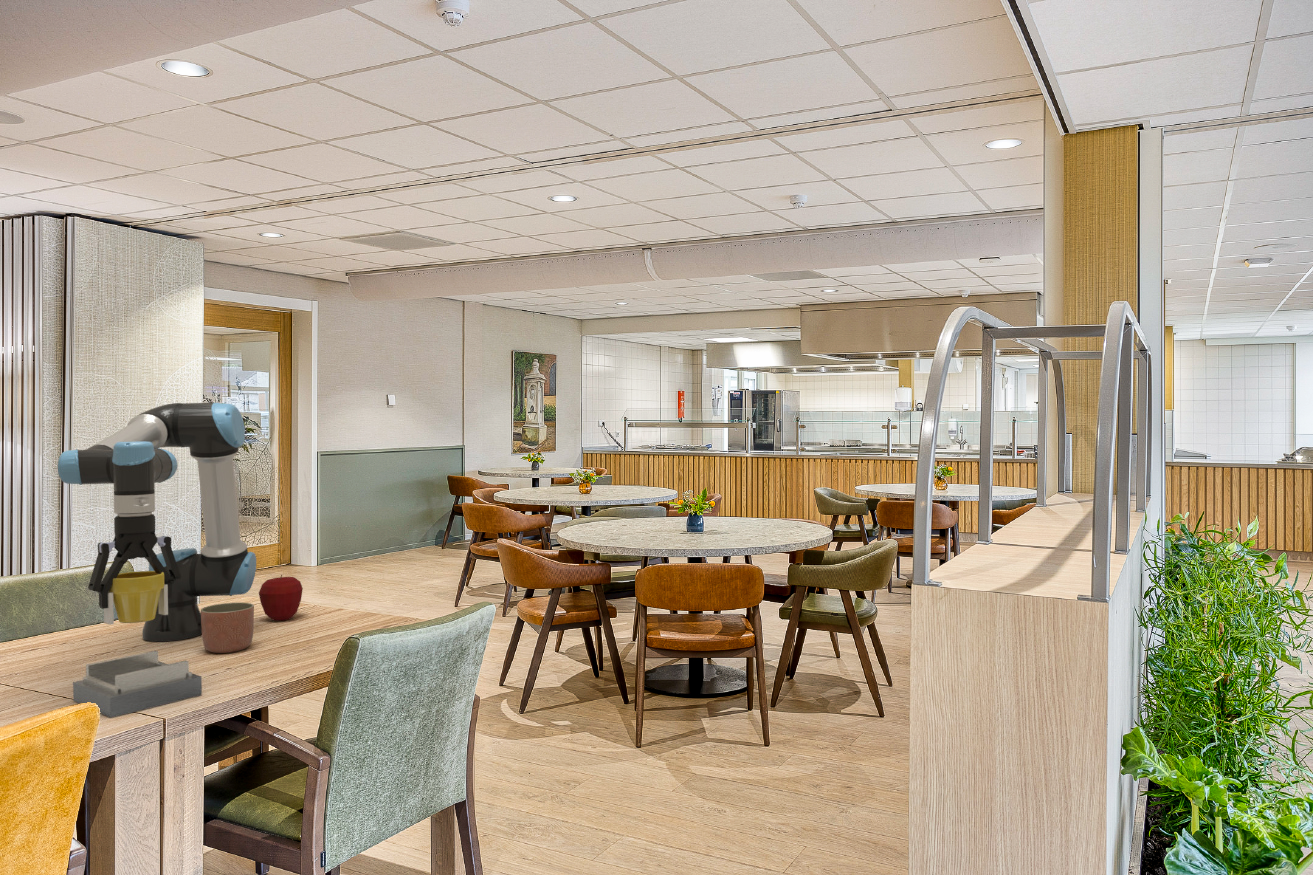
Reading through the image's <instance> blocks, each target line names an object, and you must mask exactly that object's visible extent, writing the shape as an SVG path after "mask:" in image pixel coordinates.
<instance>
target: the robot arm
mask: <svg viewBox="0 0 1313 875" xmlns="http://www.w3.org/2000/svg"><path fill="white" fill-rule="evenodd" d="M243 419H244V418H243V416H242V414H241V412H240V410H239V409H238V407H237V406H235V405H234V404H231V403H225V402H224V403H220V402H186V403H185V402H183V403H182V402H175V403H174V402H173V403H167V404H162V405H159V406H157V407H153V408H150V409H148V410H145V411H143V412H141V413H139V414H137V415H135V416H133V417H132V418H131V419H130V420H129V422H128V423H127V425H126V426H125V427H123V428H121V429H120V430H118V431H116V432H114V433H113V434H111V435H108V436H107V437H105V438H104V439H102V440H100V441H99V442H96V443H95V444H94V445H91V446H90V447H88V448H86V449H72V450H71V449H70V450H65V451H63V452H62V453H60V456H59V457H58V461H57V473H58V476H59V478H60V480H61V481H62V482H63V483H64V484H67V485H68V484H69V485H80V486H83V485H102V484H103V485H106V484H107V485H108V484H109V485H110V484H113V513H114V514H116V516H115V517H113V518H114V519H113V527H114V528H113V530H114V538H113V540H112V541H110V542H101V541H100V542H98V543H97V557H96V559H95V563H94V567H93V570H92V573H91V577H90V581H89V583H88V587H87V589H88V590H89V591H91V592H97V593H98V607H99V608H100V609H103V624H106V625H114V624H115V623H114V622H115V619H114V601H113V593H112V592H109V590H110V588H111V586H112V585H113V578H117V576H118V574H120V572H121V570H122V569H123V568H124V566H125V564H126V563H127V562H128V561H129V560H134V559H137V558H138V559H139V558H140V559H142V558H143V559H145V560H146V561H147V563H148V571H155V572H156V573H157V574H161V573H162V572H164V588H163V589H161V592H160V596H159V601H158V606H157V610H156V615H155V619H153V620H150V621H146V622H144V625H143V628H142V632H141V633H142V640H144V641H146V642H172V641H180V640H186V639H192V638H195V637H199V636H202V628H201V609H200V608H199V605H198V597H211V596H212V597H215V596H217V597H220V596H223V597H224V596H229V597H232V596H237V595H238V596H239V595H245V594H247V593H248V592H249V591H250V590H251V588H252V586H253V583H254V579H255V577H256V570H257V556H256V553H255V552H252V551H249V550H248V544H247V543H246V542H244V541H243V540H242V539H241V531H240V519H239V510H238V509H239V507H238V499H237V487H236V476H235V467H234V466H235V465H234V464H235V463H234V457H235V456H236V455H237V454H238V453H239V448H240V447H242V446H243V445H244V444H245V439H246V435H245V434H246V429H245V423H244V420H243ZM162 448H163V449H162ZM164 448H189V455H190V457H191V458H193V459H194V460H196V461H197V468H198V478H199V480H198V481H199V487H200V499H201V507H202V508H201V509H202V517H203V526H204V527H203V528H204V537H205V544H204V546H203V547H202V548H201V549H200V553H198V550H197V548H195V547H192V548H181V549H175V550H173V549H172V536H167V535H162V536H157V534H156V516H155V514H153V512H155V511H156V498H155V497H156V495H155V494H156V493H155V492H156V490H155V489H156V488H155V485H156V484H155V483H157V484H158V483H159V484H162V483H163V482H166V481H168V480H170V479H171V478H173V476H175V474H176V472H177V471H178V461H177V457H176V456H175V455H174V453H172V452H171V451H169V450H167V449H164ZM156 545H158V547H159V548H160V552H161V553H155V550H153V549H154V548H155V546H156ZM113 548H114V549H115V550H116V551H117V553H116V554H115V556H114V558H113V561H112V563H111V565H110V567H109V568H108V570H107V572H106V574H105V571H106V569H107V565H108V562H109V558H110V554H111V552H112V551H113Z"/></svg>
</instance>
